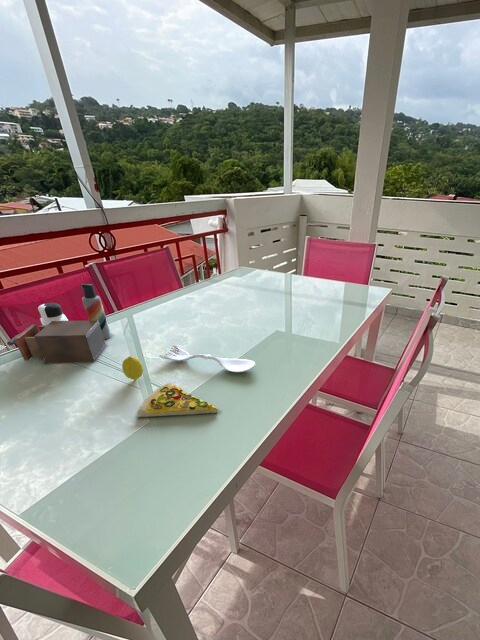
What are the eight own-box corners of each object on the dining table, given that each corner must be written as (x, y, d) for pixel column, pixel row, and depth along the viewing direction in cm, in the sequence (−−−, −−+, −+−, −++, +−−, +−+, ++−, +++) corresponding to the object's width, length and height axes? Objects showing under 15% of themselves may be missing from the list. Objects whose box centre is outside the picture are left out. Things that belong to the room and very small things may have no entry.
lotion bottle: (91, 338, 124) (73, 284, 113) (103, 333, 129) (86, 280, 117) (103, 341, 123) (86, 286, 111) (114, 335, 127) (99, 282, 116)
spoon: (174, 352, 118) (172, 343, 116) (259, 365, 113) (258, 356, 111) (160, 363, 111) (158, 354, 109) (250, 378, 106) (249, 369, 104)
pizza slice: (164, 386, 100) (162, 378, 98) (229, 397, 97) (228, 389, 95) (132, 416, 87) (130, 407, 85) (205, 430, 84) (204, 421, 82)
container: (71, 333, 127) (59, 299, 120) (75, 340, 122) (63, 305, 115) (47, 337, 123) (33, 303, 115) (51, 345, 118) (36, 309, 111)
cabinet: (45, 363, 107) (34, 336, 102) (62, 346, 117) (52, 321, 112) (94, 362, 110) (85, 335, 104) (106, 345, 120) (98, 320, 114)
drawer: (9, 361, 106) (-3, 338, 101) (27, 345, 115) (17, 324, 110) (70, 359, 108) (61, 337, 104) (82, 344, 118) (75, 323, 113)
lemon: (149, 378, 103) (143, 355, 98) (133, 386, 99) (127, 362, 94) (137, 373, 105) (131, 350, 101) (122, 380, 101) (115, 357, 97)
